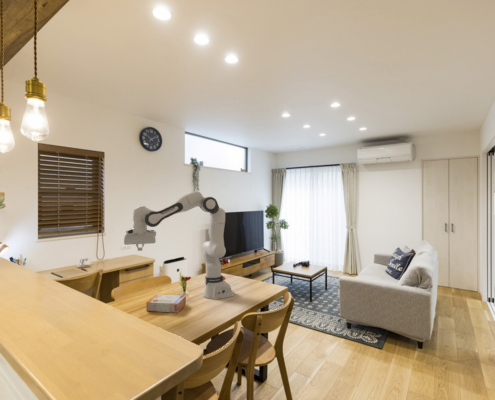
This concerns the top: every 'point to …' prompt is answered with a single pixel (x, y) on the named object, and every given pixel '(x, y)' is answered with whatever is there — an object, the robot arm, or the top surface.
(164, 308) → the cracker box
